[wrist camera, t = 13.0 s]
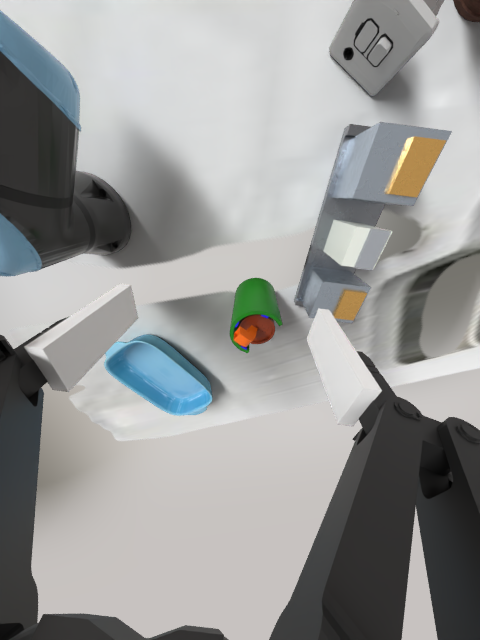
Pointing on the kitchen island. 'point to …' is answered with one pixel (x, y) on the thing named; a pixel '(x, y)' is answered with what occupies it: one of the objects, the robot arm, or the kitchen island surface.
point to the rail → (364, 204)
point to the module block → (356, 244)
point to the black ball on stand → (468, 9)
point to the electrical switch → (382, 38)
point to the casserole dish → (159, 375)
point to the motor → (254, 314)
